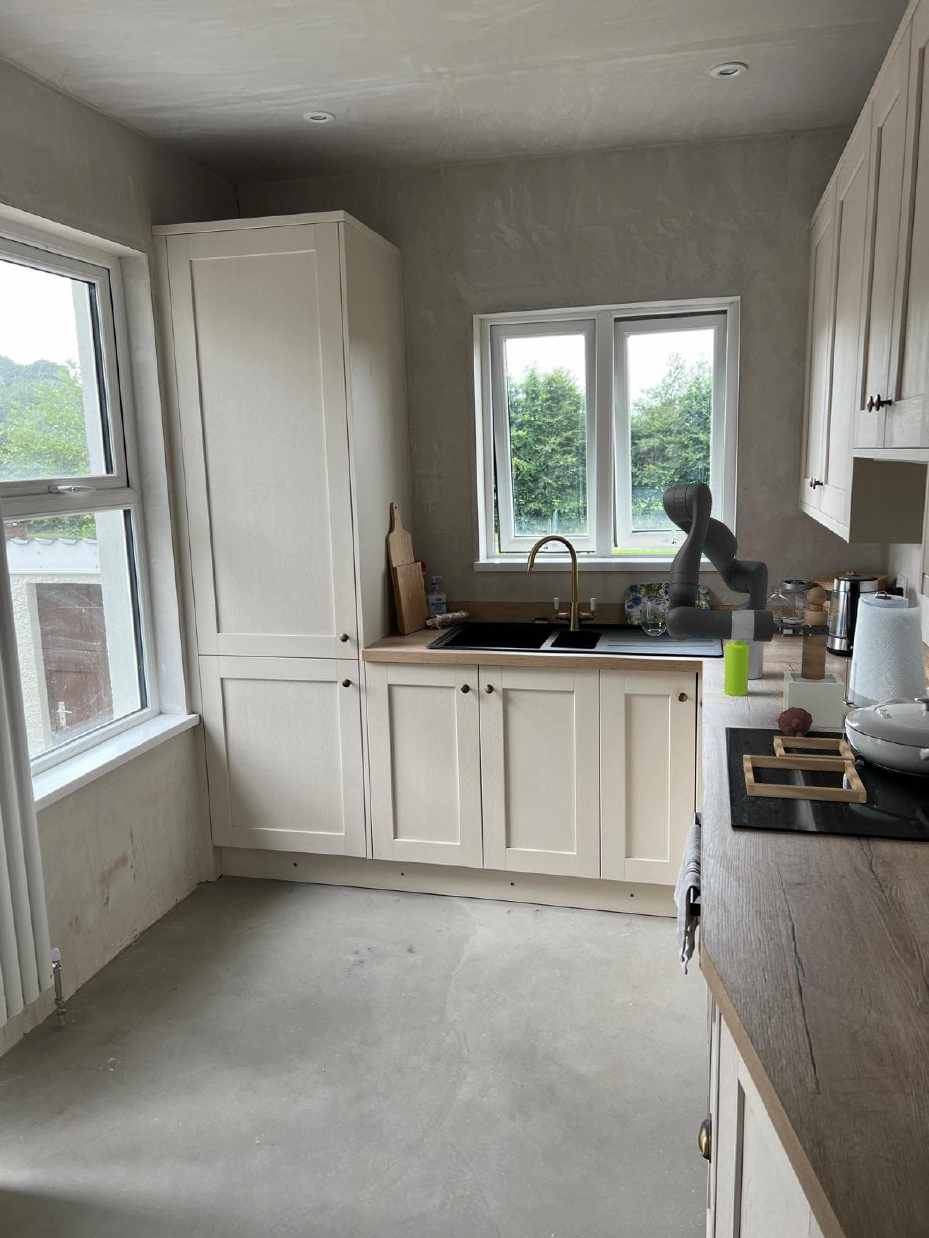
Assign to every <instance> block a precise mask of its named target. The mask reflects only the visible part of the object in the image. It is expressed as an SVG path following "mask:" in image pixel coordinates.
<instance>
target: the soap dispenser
mask: <svg viewBox="0 0 929 1238" xmlns="http://www.w3.org/2000/svg"><path fill="white" fill-rule="evenodd" d="M748 656H749V645H747V644H744V641H738V640H731V643H730V642H729V643H727V644H725V657H724V658H725V660H724V662H725V663H724V692H723V693H724V694H725V695H727V696H733V697H744V696H747V695H748V686H749V685H748V683H749V679H748Z"/></svg>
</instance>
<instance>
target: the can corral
mask: <svg viewBox="0 0 929 1238" xmlns="http://www.w3.org/2000/svg"><path fill="white" fill-rule="evenodd" d="M773 747H774V752H775V754H776V756H775V757H794V758H812V759H831V760H849V761H851V762H852V764H853V766H854V768H855V766H856V758H855V756H854V754H853V753H852V750H851V748H850V747H849V745H848V743H847V741H846V739H842V738H841V739H840V738H826V737H825V738H824V737H823V738H821V737H806V736H804V737H790V736H783V735H774V736H773ZM784 748H796V749H798V748H799V749H818V750H836V751H839V752H840V755H841V756H840V755H839V756H837V755H823V754H822V755H820V754H802V753H801V754H800V753H786V752H785V750H784Z"/></svg>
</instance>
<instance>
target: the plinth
mask: <svg viewBox="0 0 929 1238" xmlns="http://www.w3.org/2000/svg"><path fill="white" fill-rule="evenodd" d="M783 676H784V677H783V696H782V697H783V700H782V712H784V711H786V710H788V709H789V708H791V707H794V708H802V709H804V710H806V711H807V712H808V713H810V714H811V715H812V720H813V722H812V724H811V727H819V728H821V727H822V728H838V729H839V728H843V719H844V718H843V717H844V695H845V693H844V692H845V683H844V682H843V680H842V678H841V677H840V675H839V674H838V673H837V672H825V678H824V679H822V680H810V679H804V678H802V677H801V671H789V670H788V671H784V672H783Z"/></svg>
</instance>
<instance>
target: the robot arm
mask: <svg viewBox="0 0 929 1238" xmlns="http://www.w3.org/2000/svg"><path fill="white" fill-rule="evenodd" d="M662 505H663V509H664V512H665V514H666V516H667V517H668V519H669V520H670V521H671V522H672V523H673V524H674V525H676V527H678V528H679V529H680V530H681V531H683V533H685V534H686V535H687V536H686V539H685V540H684V542H683V544H682V545H681V546H680V548H679V550H678V551H677V553H676V554H675V556H674V558H673V560H672V562H671V566H670V570H669V579H668V581H669V582H668V597H669V598H668V599H669V601H668V608H667V609H668V610H667V615H666V617H665V627H666V628H665V629H666V632H667V634H668V635H669V637H670V638H672V639H673V640H675V641H679V642H681V641H687V640H688V639H690V638H691V637H693V636H705V637H708V638H709V639H713V640H729V641H730V642H729V644H730V643H731V640H738V641H744V644H747V645H749V656H748V680H758V679H761V678H762V677H764V676H763V675H764V672H763V671H764V649H765V643H770V642H772V640H773V639H774V634H780V636H781V637H784V638H788V637H789V638H791V637H792V638H793V637H795V638H796V637H797V638H798V637H800V638H801V637H802V638H803V637H809V636H810V635H811V634H815V635H827V636H828V635H829V634H830V626H829V625H828V624H827V625H812V624H804V617H789V616H787V617H786V616H779V618H778V619H774V612H773V611H772V610H768V609H766V608H767V600H768V599H767V598H768V596H767V595H768V588H769V586H768V584H769V570H768V569H769V568H768V566H767V564H766V563H765V562H763V561H757V560H756V561H755V560H741V559H737V558H736V557H735V556H736V555H737V552H738V549H739V547H738V545H739V543H738V541H737V538H736V536H735V534H734V533H733V532H732V531H731V529H730V528H729V527H728V525H727V524H725V523H724V522H723V521H721V520H718V519H716V518H714V517H711V515H712V510H713V509H712V508H713V495H712V491H711V489H710V487H709V486H708V484H707V483H705V482H702V481H701V482H700V481H699V482H692V483H691V482H690V483H684V484H678V485H674V486H673V485H672V486H670V487H668V488H667V489H666V490H665V491H664V493H663V495H662ZM702 555H704V556H705V558H707V559H708V561H709V562H710V563H711V564H712V565H713V567H714V568H715V570H716V571H717V572H718V574H719V575H720V577H721V579H722V581H723V582H724V584H725V586H726V587H727V588H728V590H730V591H731V592H734V593H738V594H749V597H748V600H746V602H744V603H739V604H736V605H734V606H732V607H731V609H730V610H728V609H727V610H726V609H725V610H724V609H723V610H722V609H718V610H712V609H706V608H701V607H697V598H698V593H699V581H700V566H701V560H702ZM803 628H804V632H803Z"/></svg>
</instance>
